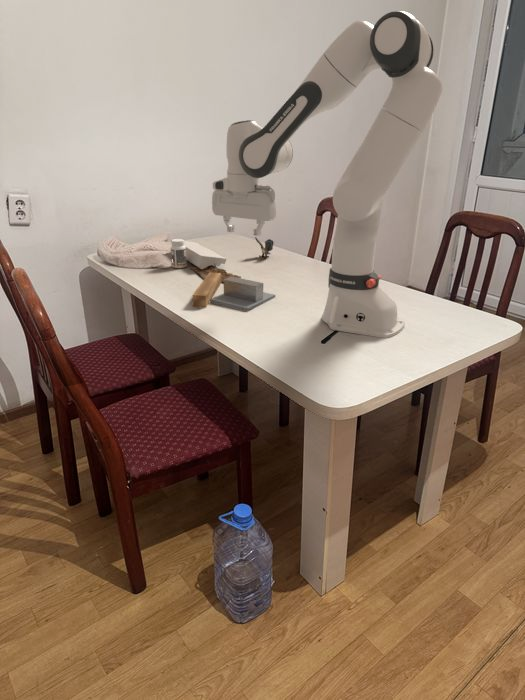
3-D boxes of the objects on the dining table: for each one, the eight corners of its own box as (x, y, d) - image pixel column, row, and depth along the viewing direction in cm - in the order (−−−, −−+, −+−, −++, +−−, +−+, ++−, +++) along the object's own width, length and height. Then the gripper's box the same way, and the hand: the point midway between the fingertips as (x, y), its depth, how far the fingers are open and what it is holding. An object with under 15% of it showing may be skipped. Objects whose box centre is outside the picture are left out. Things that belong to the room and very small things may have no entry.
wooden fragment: (247, 280, 174) (247, 277, 174) (221, 289, 168) (221, 286, 168) (207, 264, 193) (206, 261, 192) (182, 271, 187) (181, 268, 186)
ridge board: (275, 298, 159) (275, 279, 157) (248, 312, 148) (248, 291, 145) (238, 290, 166) (238, 271, 164) (210, 302, 155) (209, 283, 152)
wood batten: (221, 284, 173) (220, 273, 171) (206, 308, 151) (205, 295, 149) (209, 283, 173) (209, 272, 172) (192, 307, 152) (192, 295, 150)
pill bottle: (188, 264, 194) (187, 238, 189) (184, 268, 188) (183, 242, 184) (174, 264, 194) (172, 238, 190) (169, 268, 189) (168, 241, 185)
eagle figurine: (253, 261, 200) (253, 238, 196) (255, 256, 206) (255, 234, 202) (273, 261, 199) (273, 238, 196) (273, 257, 206) (274, 234, 202)
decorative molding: (193, 253, 216) (171, 250, 212) (195, 242, 215) (172, 239, 210) (224, 271, 188) (199, 268, 184) (226, 258, 187) (201, 255, 182)
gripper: (280, 185, 140) (279, 235, 145) (221, 180, 150) (222, 228, 156) (268, 187, 135) (268, 239, 141) (207, 182, 145) (209, 231, 151)
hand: (243, 233), depth 148 cm, fingers open, 8 cm apart
